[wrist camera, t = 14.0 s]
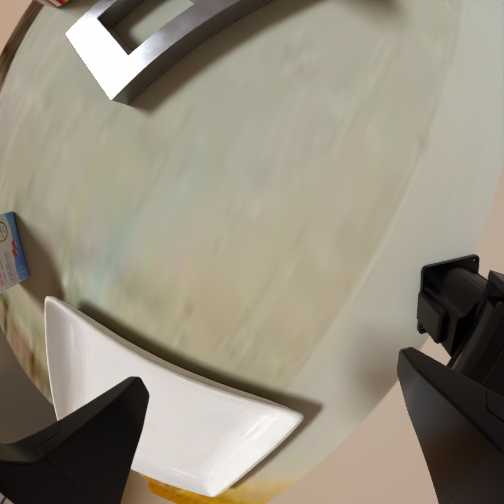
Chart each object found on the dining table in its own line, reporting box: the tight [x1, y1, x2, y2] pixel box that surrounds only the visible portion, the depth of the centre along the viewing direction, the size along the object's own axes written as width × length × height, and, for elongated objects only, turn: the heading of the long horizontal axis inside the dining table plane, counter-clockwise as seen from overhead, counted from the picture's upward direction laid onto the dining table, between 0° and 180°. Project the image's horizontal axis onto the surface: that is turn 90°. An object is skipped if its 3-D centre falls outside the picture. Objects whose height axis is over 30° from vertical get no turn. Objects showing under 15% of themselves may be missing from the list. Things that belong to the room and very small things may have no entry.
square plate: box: [45, 296, 304, 497], centre depth 27 cm, size 27×27×4 cm
